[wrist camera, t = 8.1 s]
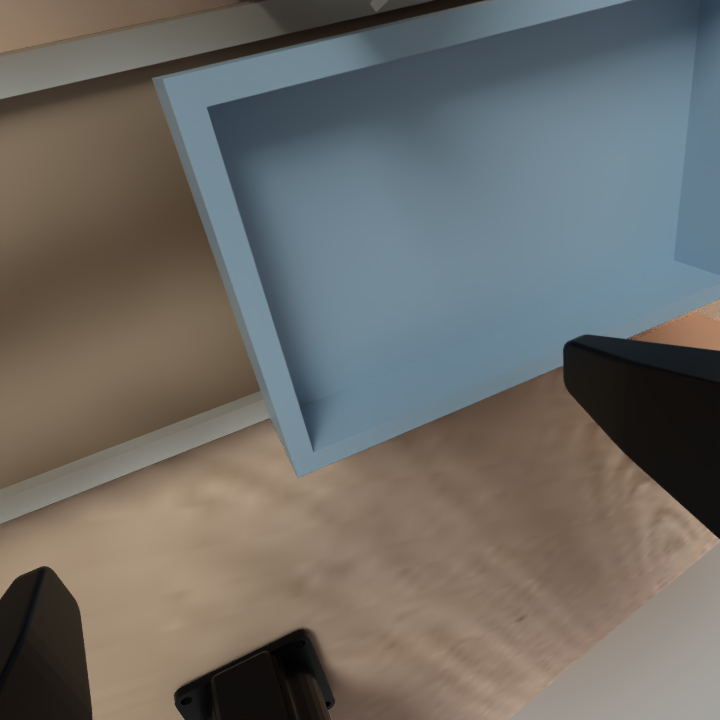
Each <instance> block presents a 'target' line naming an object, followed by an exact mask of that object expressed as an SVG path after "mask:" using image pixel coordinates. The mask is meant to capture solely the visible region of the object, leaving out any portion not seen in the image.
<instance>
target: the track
mask: <svg viewBox="0 0 720 720" xmlns="http://www.w3.org/2000/svg"><path fill="white" fill-rule="evenodd" d="M480 1H485V0H388V1H387V2H386V3H385V4H384V5H383V6H382V7H381V8H380V9H379V10H378V11H377V12H376V11H375V10H374V9H373V7H372V6H371V5H370V3H371V2H372V0H251V1H246V2H241V3H236V4H232V5H227V6H222V7H217V8H213V9H208V10H203V11H198V12H194V13H189V14H184V15H179V16H175V17H170V18H165V19H160V20H155V21H151V22H146V23H141V24H136V25H132V26H127V27H122V28H117V29H113V30H108V31H103V32H98V33H94V34H89V35H84V36H79V37H74V38H70V39H65V40H60V41H55V42H51V43H46V44H41V45H36V46H32V47H27V48H22V49H17V50H12V51H8V52H3V53H0V524H1V523H4V522H6V521H9V520H12V519H14V518H17V517H19V516H22V515H24V514H27V513H29V512H32V511H34V510H37V509H40V508H42V507H45V506H47V505H50V504H52V503H55V502H57V501H60V500H62V499H65V498H68V497H70V496H73V495H75V494H78V493H80V492H83V491H85V490H88V489H90V488H93V487H96V486H98V485H101V484H103V483H106V482H108V481H111V480H113V479H116V478H118V477H121V476H124V475H126V474H129V473H131V472H134V471H136V470H139V469H141V468H144V467H146V466H149V465H152V464H154V463H157V462H159V461H162V460H164V459H167V458H169V457H172V456H174V455H177V454H180V453H182V452H185V451H187V450H190V449H192V448H195V447H197V446H200V445H202V444H205V443H208V442H210V441H213V440H215V439H218V438H220V437H223V436H225V435H228V434H230V433H233V432H236V431H238V430H241V429H243V428H246V427H248V426H251V425H253V424H256V423H258V422H261V421H264V420H266V419H269V418H270V416H269V413H268V410H267V408H266V405H265V402H264V399H263V396H262V393H261V390H260V388H259V385H258V382H257V379H256V376H255V373H254V370H253V367H252V365H251V362H250V359H249V356H248V353H247V350H246V347H245V344H244V342H243V339H242V336H241V333H240V330H239V327H238V324H237V321H236V319H235V316H234V313H233V310H232V307H231V304H230V301H229V298H228V296H227V293H226V290H225V287H224V284H223V281H222V278H221V275H220V273H219V270H218V267H217V264H216V261H215V258H214V255H213V252H212V250H211V247H210V244H209V241H208V238H207V235H206V232H205V230H204V227H203V224H202V221H201V218H200V215H199V212H198V209H197V207H196V204H195V201H194V198H193V195H192V192H191V189H190V186H189V184H188V181H187V178H186V175H185V172H184V169H183V166H182V163H181V161H180V158H179V155H178V152H177V149H176V146H175V143H174V140H173V138H172V135H171V132H170V129H169V126H168V123H167V120H166V117H165V115H164V112H163V109H162V106H161V103H160V100H159V97H158V94H157V92H156V89H155V86H154V83H153V80H152V78H155V77H159V76H163V75H168V74H172V73H176V72H180V71H185V70H189V69H193V68H198V67H202V66H206V65H210V64H215V63H219V62H223V61H228V60H232V59H236V58H240V57H245V56H249V55H253V54H258V53H262V52H266V51H270V50H275V49H279V48H283V47H288V46H292V45H296V44H300V43H305V42H309V41H313V40H318V39H322V38H326V37H330V36H335V35H339V34H343V33H348V32H352V31H356V30H360V29H365V28H369V27H373V26H378V25H382V24H386V23H390V22H395V21H399V20H403V19H408V18H412V17H416V16H420V15H425V14H429V13H433V12H438V11H442V10H446V9H450V8H455V7H459V6H463V5H468V4H472V3H476V2H480Z"/></svg>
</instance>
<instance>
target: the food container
mask: <svg viewBox="0 0 720 720" xmlns="http://www.w3.org/2000/svg"><path fill="white" fill-rule="evenodd" d="M387 1H388V0H372V2H371V3H370V5H371V6H372V7H373V9H374V10H375V11H376V12H377V11H378V10H379V9H380V8H381V7H382V6H383V5H384V4H385V3H386V2H387Z"/></svg>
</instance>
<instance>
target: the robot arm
mask: <svg viewBox="0 0 720 720" xmlns="http://www.w3.org/2000/svg"><path fill="white" fill-rule="evenodd" d="M563 378H564V383H565V386H566V388H567V390H568V392H569V393H570V394H571V395H572V396H573V397H574V399H575V400H576V401H577V402H578V403H579V404H580V405H581V406H582V407H583V409H584V410H585V411H586V412H587V413H588V414H589V415H590V416H591V417H592V419H593V420H594V421H595V422H596V423H597V424H598V425H599V426H600V427H601V428H602V430H603V431H604V432H605V433H606V434H607V435H608V436H609V437H610V438H611V440H612V441H613V442H614V443H615V444H616V445H617V446H618V447H619V448H620V449H621V450H622V451H623V452H624V453H625V454H626V455H627V456H628V457H629V458H630V459H631V460H632V461H634V462H635V463H636V464H637V465H638V466H639V467H640V468H641V469H642V470H643V471H645V472H646V473H647V474H648V475H649V476H650V477H651V478H652V479H653V480H655V481H656V482H657V483H658V484H659V485H660V486H661V487H662V488H663V489H665V490H666V491H667V492H668V493H669V494H670V495H671V496H672V497H673V498H675V499H676V500H677V501H678V502H679V503H680V504H681V505H682V506H683V507H685V508H686V509H687V510H688V511H689V512H690V513H691V514H692V515H693V516H694V517H696V518H697V519H698V520H699V521H700V522H701V523H702V524H703V525H704V526H706V527H707V528H708V529H709V530H710V531H711V532H712V533H713V534H714V535H716V536H717V537H718V538H719V539H720V351H718V350H710V349H702V348H694V347H686V346H678V345H670V344H662V343H654V342H646V341H638V340H630V339H622V338H614V337H606V336H598V335H590V334H584V335H581V336H579V337H576V338H574V339H572V340H569V341H567V342H566V343H565V345H564V347H563ZM174 700H175V706H176V708H177V709H178V711H179V712H180V714H181V715H182V716H183V718H184V719H185V720H331V718H330V715H329V713H328V710H329V709H330V708H332V706H333V705H334V703H335V700H334V697H333V694H332V691H331V689H330V687H329V684H328V682H327V679H326V677H325V674H324V672H323V669H322V667H321V664H320V662H319V659H318V657H317V654H316V652H315V650H314V647H313V645H312V642H311V640H310V637H309V635H308V632H307V631H305V630H298V631H295V632H293V633H291V634H289V635H287V636H285V637H283V638H281V639H279V640H277V641H275V642H273V643H270V644H268V645H266V646H264V647H262V648H260V649H258V650H256V651H254V652H252V653H250V654H248V655H246V656H244V657H242V658H240V659H238V660H236V661H234V662H232V663H230V664H228V665H226V666H224V667H222V668H220V669H218V670H215V671H213V672H211V673H209V674H207V675H205V676H203V677H201V678H199V679H197V680H195V681H193V682H191V683H189V684H187V685H185V686H183V687H181V688H180V689H178V690H177V691H176V692H175V694H174ZM0 720H92V706H91V696H90V688H89V679H88V671H87V663H86V655H85V647H84V639H83V631H82V622H81V615H80V610H79V607H78V604H77V602H76V600H75V598H74V597H73V596H72V594H71V593H70V592H69V590H68V589H67V588H66V586H65V585H64V584H63V582H62V581H61V580H60V579H59V577H58V576H57V575H56V573H55V572H54V571H53V570H52V569H51V568H49V567H47V566H42V567H40V568H37V569H35V570H32V571H30V572H28V573H25V574H23V575H21V576H19V577H17V578H16V579H15V580H14V581H13V583H12V584H11V585H10V587H9V588H8V589H7V591H6V592H5V594H4V595H3V596H2V598H1V599H0Z"/></svg>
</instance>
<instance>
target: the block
mask: <svg viewBox="0 0 720 720" xmlns="http://www.w3.org/2000/svg"><path fill="white" fill-rule="evenodd" d="M633 340H638V341H646V342H654V343H662V344H670V345H678V346H686V347H694V348H702V349H710V350H718V351H720V322H718V321H716V320H713V319H711V318H708V317H706V316H704V315H701V314H699V313H694V314H692V315H689V316H687V317H685V318H682V319H680V320H677V321H675V322H673V323H670V324H668V325H666V326H663V327H661V328H659V329H656V330H654V331H652V332H649V333H647V334H645V335H642V336H640V337H638V338H635V339H633Z"/></svg>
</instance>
